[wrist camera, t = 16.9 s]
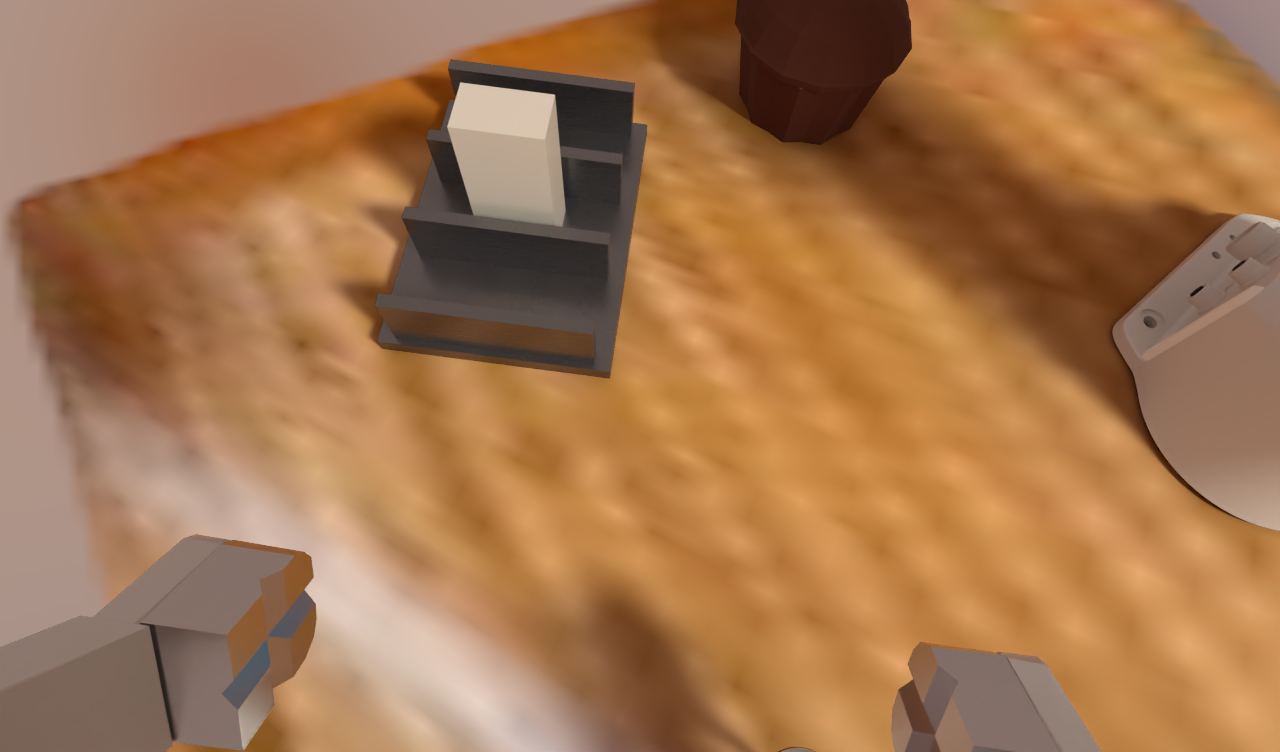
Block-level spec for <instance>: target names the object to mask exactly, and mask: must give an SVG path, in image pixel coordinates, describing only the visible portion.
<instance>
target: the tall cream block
mask: <svg viewBox="0 0 1280 752" xmlns="http://www.w3.org/2000/svg"><path fill="white" fill-rule="evenodd" d="M447 128H448V131H449V135H450V138H451V141H452V145H453V148H454V151H455V155H456V158H457V161H458V165H459V168H460V171H461V175H462V178H463V181H464V185H465V188H466V192H467V195H468V198H469V202H470V205H471V208H472V212H473V215H474V216H482V217H490V218H497V219H505V220H513V221H520V222H528V223H536V224H543V225H551V226H559V227H562V226H563V221H564V216H565V211H566V210H565V199H564V188H563V177H562V166H561V154H560V143H559V132H558V121H557V110H556V99H555V95H553V94H546V93H538V92H530V91H522V90H515V89H507V88H499V87H492V86H484V85H476V84H468V83H461V82H460V86H459V89H458V92H457V96H456V99H455V102H454V106H453V109H452V113H451V116H450V119H449V123H448V126H447Z"/></svg>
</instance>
